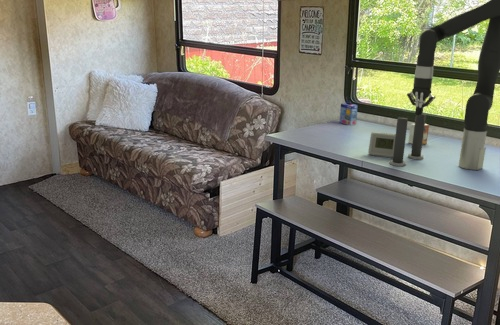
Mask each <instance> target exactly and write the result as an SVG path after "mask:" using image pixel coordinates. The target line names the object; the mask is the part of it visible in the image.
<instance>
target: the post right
mask: <svg viewBox="0 0 500 325" xmlns="http://www.w3.org/2000/svg"><path fill="white" fill-rule="evenodd" d="M426 117H427V114H426V113H423V114H422V115H421V116H417V115H416V114H415V119H414V124H415V126H414V135H413V143H412V144H411V151H410V153H408V156H407V157H408V158H409V159H412V160H416V161H417V160H424V155H422V149H423V147H422V146H423V144H422V142H423V134H424V126H425V124H426Z"/></svg>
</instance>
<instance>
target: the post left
mask: <svg viewBox="0 0 500 325" xmlns="http://www.w3.org/2000/svg"><path fill="white" fill-rule="evenodd" d="M396 121H397V122H396V129H395V134H396V137H395V146H394V154H393V158H392V159H391V160H389V164H390V165H391V166H393V167H395V166H396V167H406V164H407V163H406V161H404V156H405V147H406V139H407V129H408V121H409V118H407V117H397V120H396Z"/></svg>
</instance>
